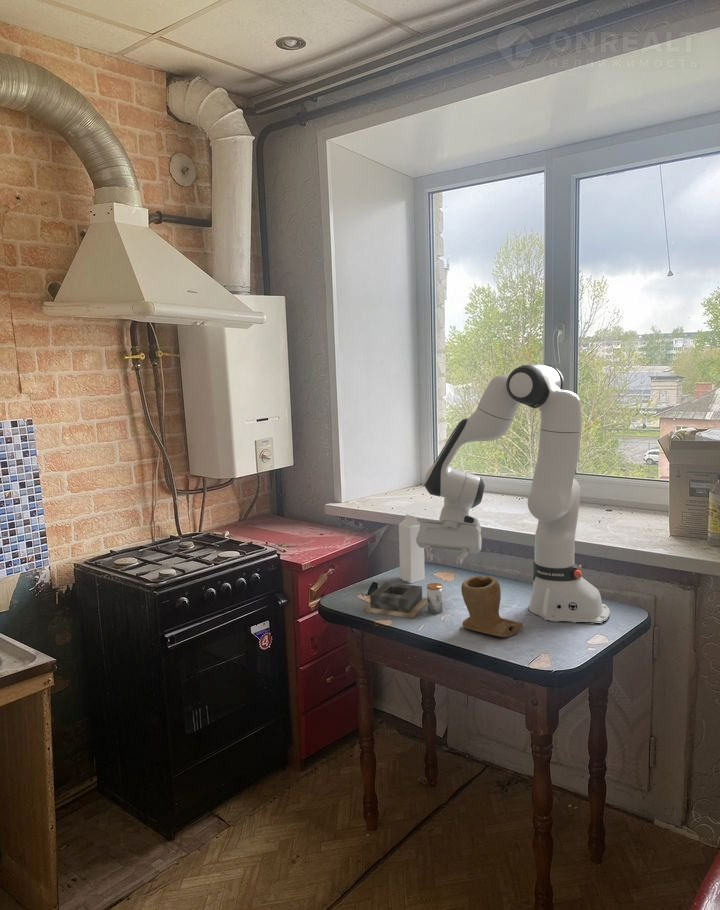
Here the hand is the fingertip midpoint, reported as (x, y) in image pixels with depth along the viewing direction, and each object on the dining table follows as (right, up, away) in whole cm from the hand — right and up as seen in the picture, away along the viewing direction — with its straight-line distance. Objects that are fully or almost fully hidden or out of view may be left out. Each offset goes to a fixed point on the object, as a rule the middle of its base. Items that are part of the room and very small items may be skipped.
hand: (443, 561), depth 207 cm
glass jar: (-3, -14, -7) cm, 16 cm away
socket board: (-14, -13, -2) cm, 20 cm away
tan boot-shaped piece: (+9, -16, -22) cm, 29 cm away
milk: (-8, -10, +22) cm, 25 cm away
